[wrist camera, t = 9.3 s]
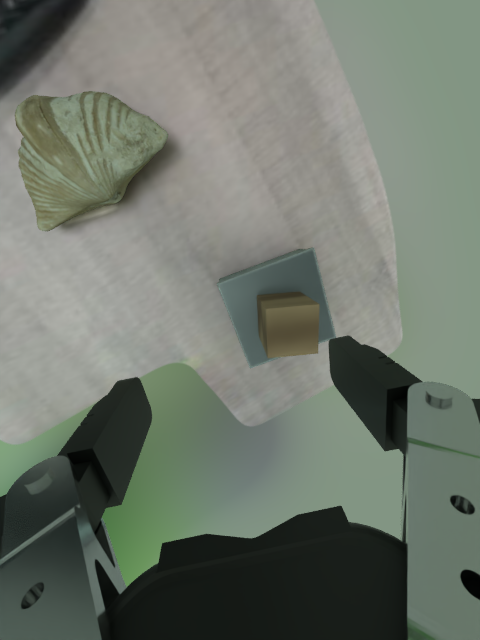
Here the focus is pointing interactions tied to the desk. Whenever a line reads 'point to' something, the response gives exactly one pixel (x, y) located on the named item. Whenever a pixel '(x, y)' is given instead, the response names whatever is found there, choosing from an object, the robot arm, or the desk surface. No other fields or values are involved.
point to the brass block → (288, 324)
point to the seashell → (81, 152)
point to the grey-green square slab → (273, 278)
